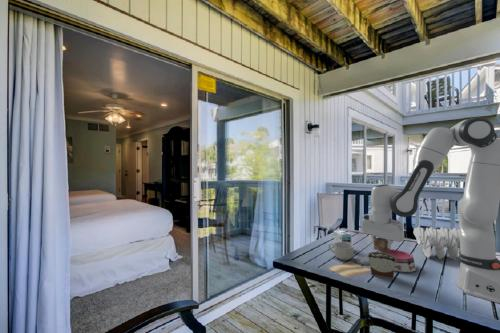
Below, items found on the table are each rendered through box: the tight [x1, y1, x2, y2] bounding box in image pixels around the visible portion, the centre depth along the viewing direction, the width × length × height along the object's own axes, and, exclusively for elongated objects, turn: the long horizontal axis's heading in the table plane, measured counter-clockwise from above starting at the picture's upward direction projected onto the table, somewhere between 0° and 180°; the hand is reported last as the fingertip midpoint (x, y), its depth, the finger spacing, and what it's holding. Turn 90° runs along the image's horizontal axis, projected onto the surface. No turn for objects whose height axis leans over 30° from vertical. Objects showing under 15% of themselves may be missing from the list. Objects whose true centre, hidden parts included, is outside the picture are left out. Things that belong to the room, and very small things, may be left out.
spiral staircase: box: [413, 225, 460, 260], centre depth 139 cm, size 18×18×25 cm
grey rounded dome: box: [355, 256, 370, 266], centre depth 135 cm, size 9×9×1 cm
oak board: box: [326, 261, 371, 279], centre depth 126 cm, size 14×18×1 cm
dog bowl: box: [378, 248, 418, 274], centre depth 130 cm, size 18×19×7 cm
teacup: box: [328, 242, 355, 261], centre depth 142 cm, size 14×11×8 cm
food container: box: [367, 251, 397, 280], centre depth 119 cm, size 12×6×10 cm, turn 58°
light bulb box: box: [333, 230, 353, 245], centre depth 158 cm, size 11×7×11 cm, turn 9°
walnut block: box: [373, 237, 391, 252], centre depth 119 cm, size 5×5×5 cm
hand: (382, 246), depth 119 cm, fingers closed on walnut block, 5 cm apart
